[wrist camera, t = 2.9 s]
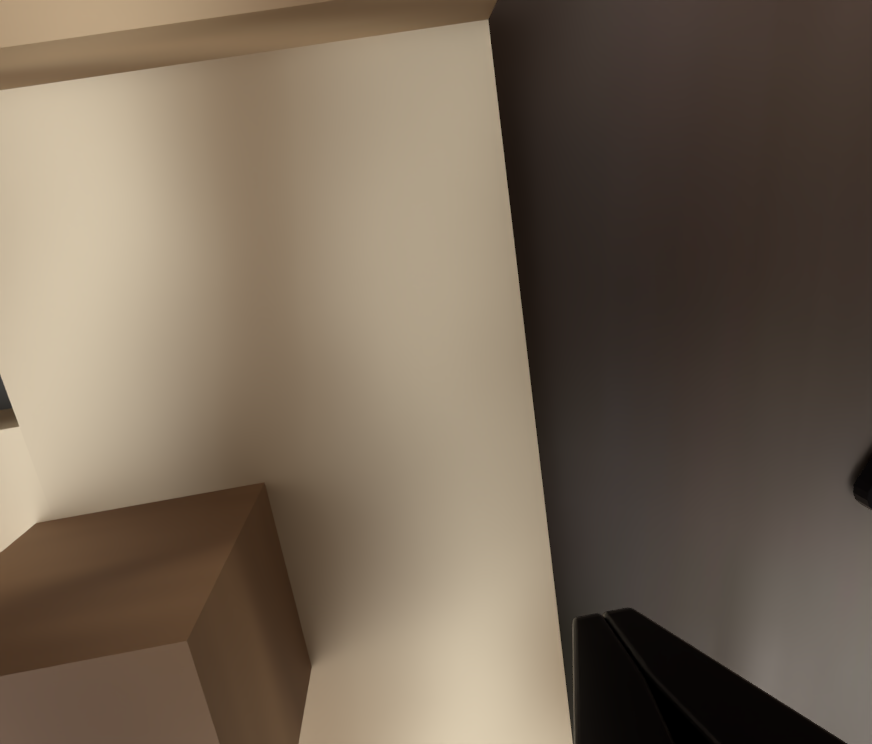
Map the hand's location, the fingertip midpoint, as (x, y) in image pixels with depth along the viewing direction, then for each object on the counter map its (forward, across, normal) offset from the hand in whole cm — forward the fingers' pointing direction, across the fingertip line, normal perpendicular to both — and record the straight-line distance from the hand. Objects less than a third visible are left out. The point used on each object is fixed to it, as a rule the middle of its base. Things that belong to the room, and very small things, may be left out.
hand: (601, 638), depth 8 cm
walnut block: (+3, +7, 0) cm, 7 cm away
